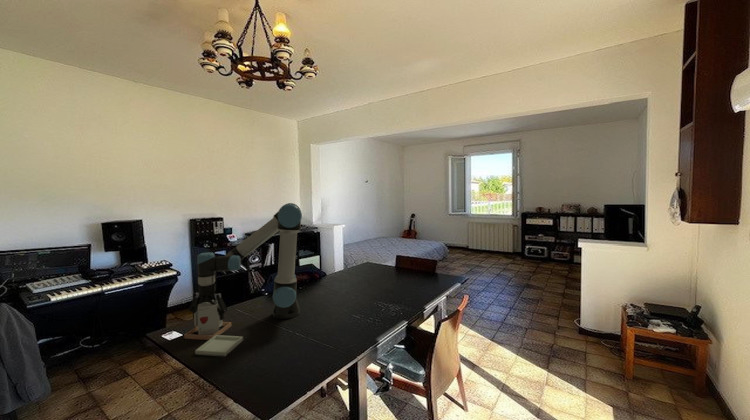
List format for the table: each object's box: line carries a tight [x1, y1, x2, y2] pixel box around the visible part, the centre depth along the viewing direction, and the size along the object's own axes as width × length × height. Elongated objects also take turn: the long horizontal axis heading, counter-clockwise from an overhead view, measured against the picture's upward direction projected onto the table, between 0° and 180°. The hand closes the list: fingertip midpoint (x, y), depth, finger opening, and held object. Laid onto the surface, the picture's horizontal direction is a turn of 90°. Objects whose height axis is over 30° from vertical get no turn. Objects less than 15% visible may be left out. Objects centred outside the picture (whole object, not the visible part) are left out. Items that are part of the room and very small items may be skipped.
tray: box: [194, 334, 244, 357], centre depth 137 cm, size 14×14×2 cm
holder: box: [183, 321, 232, 341], centre depth 152 cm, size 15×15×2 cm
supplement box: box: [197, 300, 220, 336], centre depth 151 cm, size 9×9×15 cm
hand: (208, 325), depth 152 cm, fingers closed on supplement box, 12 cm apart
